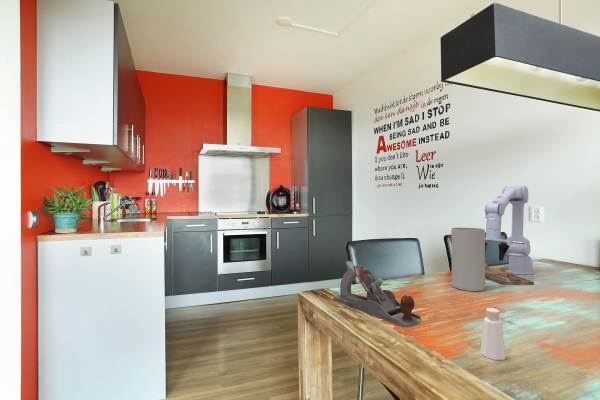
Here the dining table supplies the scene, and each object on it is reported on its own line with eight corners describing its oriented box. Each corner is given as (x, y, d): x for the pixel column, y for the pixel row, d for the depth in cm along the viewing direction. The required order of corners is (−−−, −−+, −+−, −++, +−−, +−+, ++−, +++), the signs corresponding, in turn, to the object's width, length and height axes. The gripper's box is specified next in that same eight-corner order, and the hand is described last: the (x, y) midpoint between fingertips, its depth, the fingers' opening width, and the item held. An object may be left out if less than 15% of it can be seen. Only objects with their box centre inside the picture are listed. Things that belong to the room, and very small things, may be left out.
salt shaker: (488, 347, 80) (488, 304, 80) (511, 357, 75) (510, 310, 75) (475, 352, 78) (474, 307, 78) (497, 362, 73) (497, 314, 73)
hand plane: (406, 329, 92) (406, 278, 92) (331, 300, 120) (331, 260, 120) (424, 322, 98) (424, 274, 98) (348, 296, 125) (348, 258, 125)
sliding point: (509, 275, 149) (509, 266, 149) (513, 276, 147) (513, 268, 147) (490, 275, 149) (490, 267, 149) (493, 276, 147) (493, 268, 147)
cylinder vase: (482, 293, 126) (482, 230, 126) (448, 288, 133) (448, 229, 133) (487, 286, 136) (486, 228, 136) (455, 282, 143) (454, 227, 143)
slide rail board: (501, 273, 161) (501, 270, 161) (533, 284, 139) (533, 281, 139) (474, 273, 161) (474, 270, 161) (502, 284, 139) (501, 282, 139)
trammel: (495, 271, 160) (495, 263, 160) (525, 281, 139) (525, 272, 139) (477, 271, 160) (477, 263, 160) (504, 281, 139) (504, 272, 139)
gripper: (472, 227, 148) (471, 256, 147) (506, 229, 136) (505, 261, 135) (480, 228, 152) (478, 257, 151) (514, 230, 140) (512, 261, 138)
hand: (491, 259), depth 143 cm, fingers open, 7 cm apart
